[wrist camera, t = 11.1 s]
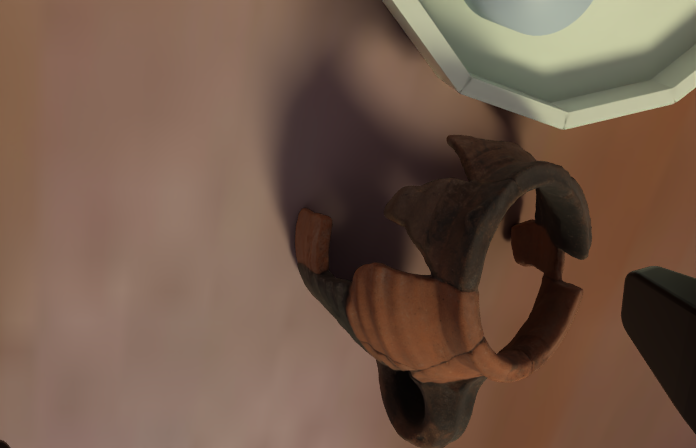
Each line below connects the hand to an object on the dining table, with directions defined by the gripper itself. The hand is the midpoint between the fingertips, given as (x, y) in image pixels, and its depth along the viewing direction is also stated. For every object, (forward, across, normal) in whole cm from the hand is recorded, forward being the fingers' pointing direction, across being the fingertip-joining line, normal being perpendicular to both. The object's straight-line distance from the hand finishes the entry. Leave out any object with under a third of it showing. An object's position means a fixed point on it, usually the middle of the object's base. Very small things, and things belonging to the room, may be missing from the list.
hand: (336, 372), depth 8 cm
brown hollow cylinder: (+13, -4, +7) cm, 16 cm away
